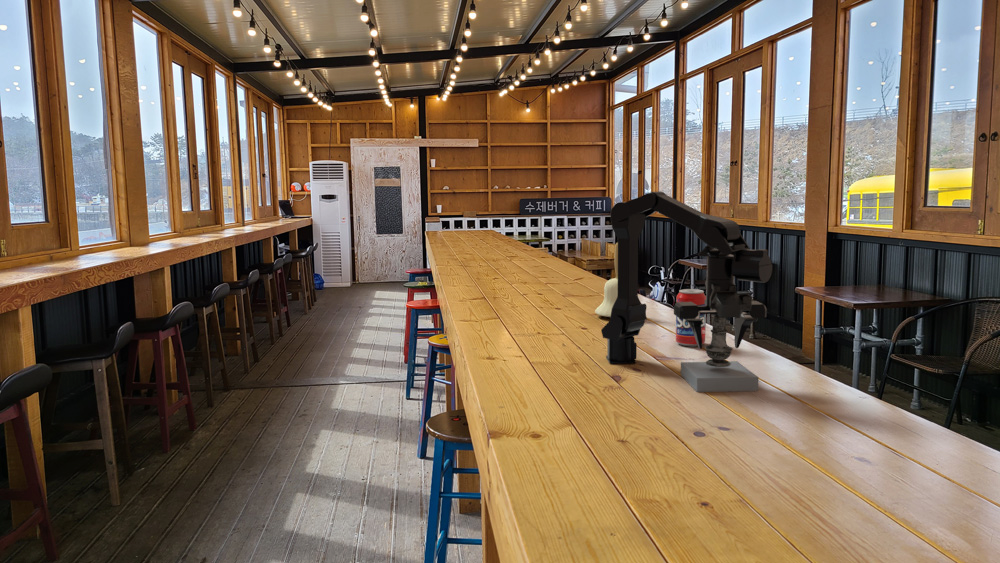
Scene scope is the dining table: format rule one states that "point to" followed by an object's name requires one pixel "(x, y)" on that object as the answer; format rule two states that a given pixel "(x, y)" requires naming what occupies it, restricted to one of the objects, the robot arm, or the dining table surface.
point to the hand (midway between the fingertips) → (718, 348)
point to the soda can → (683, 327)
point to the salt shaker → (718, 344)
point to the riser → (719, 377)
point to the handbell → (610, 291)
